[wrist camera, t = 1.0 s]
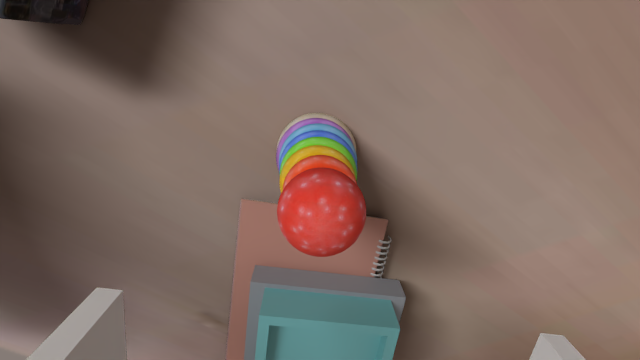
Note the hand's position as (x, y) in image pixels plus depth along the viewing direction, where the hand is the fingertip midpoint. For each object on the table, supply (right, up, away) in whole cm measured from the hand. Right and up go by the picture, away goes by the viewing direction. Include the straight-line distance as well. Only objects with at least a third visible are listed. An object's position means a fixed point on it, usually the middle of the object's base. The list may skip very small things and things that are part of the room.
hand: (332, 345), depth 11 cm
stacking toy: (-1, +8, +24) cm, 26 cm away
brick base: (0, -11, +29) cm, 31 cm away
